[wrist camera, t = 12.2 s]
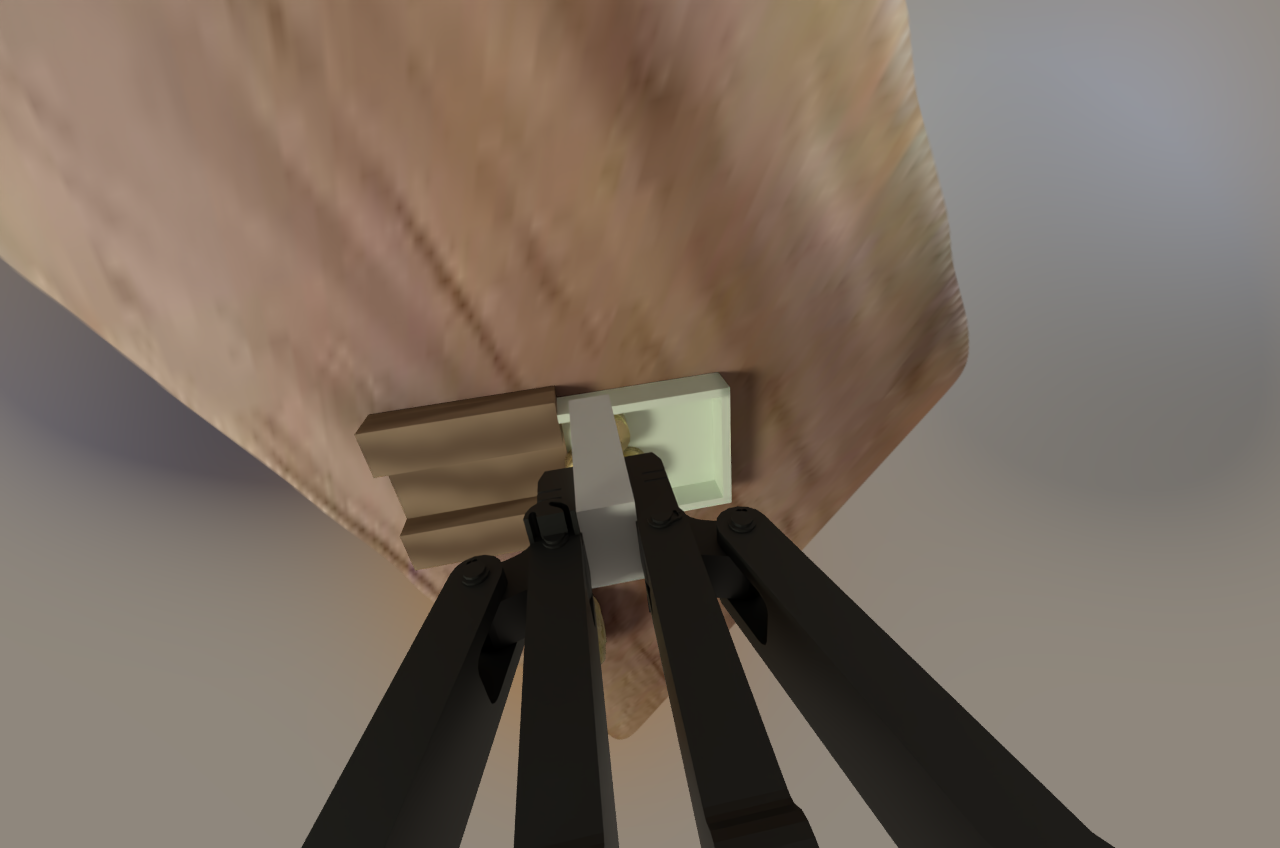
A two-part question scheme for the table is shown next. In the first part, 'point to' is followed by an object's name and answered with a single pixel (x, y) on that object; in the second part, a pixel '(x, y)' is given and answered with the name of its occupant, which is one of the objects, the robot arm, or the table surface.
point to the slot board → (466, 470)
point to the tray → (677, 432)
